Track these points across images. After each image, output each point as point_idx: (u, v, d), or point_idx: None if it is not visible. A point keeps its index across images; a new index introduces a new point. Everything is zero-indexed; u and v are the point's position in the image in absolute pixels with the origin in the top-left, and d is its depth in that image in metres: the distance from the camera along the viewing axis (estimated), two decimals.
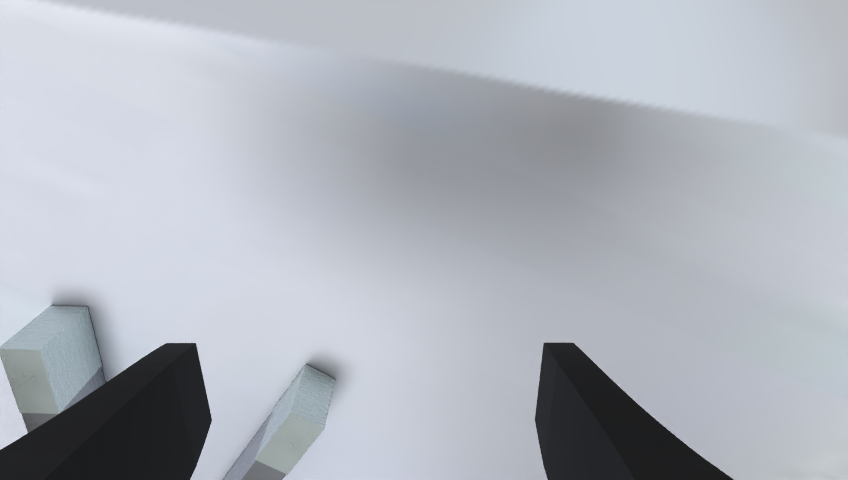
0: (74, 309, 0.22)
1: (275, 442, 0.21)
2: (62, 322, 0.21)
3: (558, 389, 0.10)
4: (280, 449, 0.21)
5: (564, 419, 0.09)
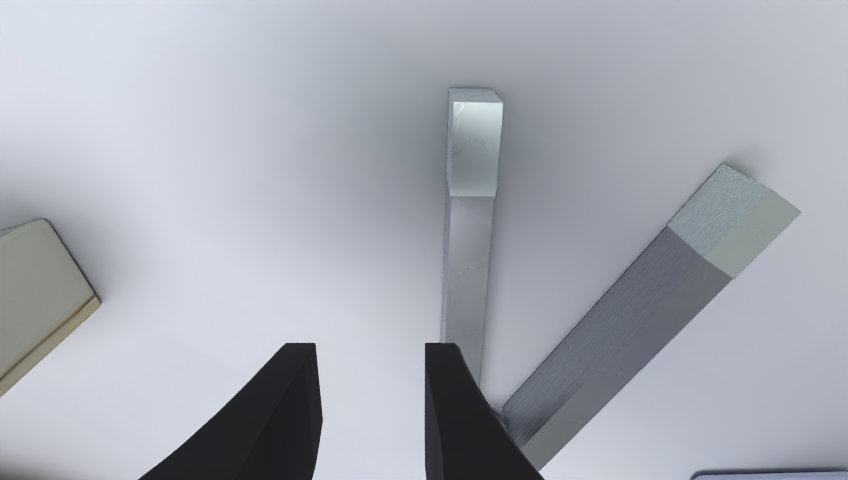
0: (481, 90, 0.18)
1: (736, 232, 0.18)
2: (487, 93, 0.18)
3: (426, 389, 0.10)
4: (739, 243, 0.18)
5: (429, 420, 0.09)
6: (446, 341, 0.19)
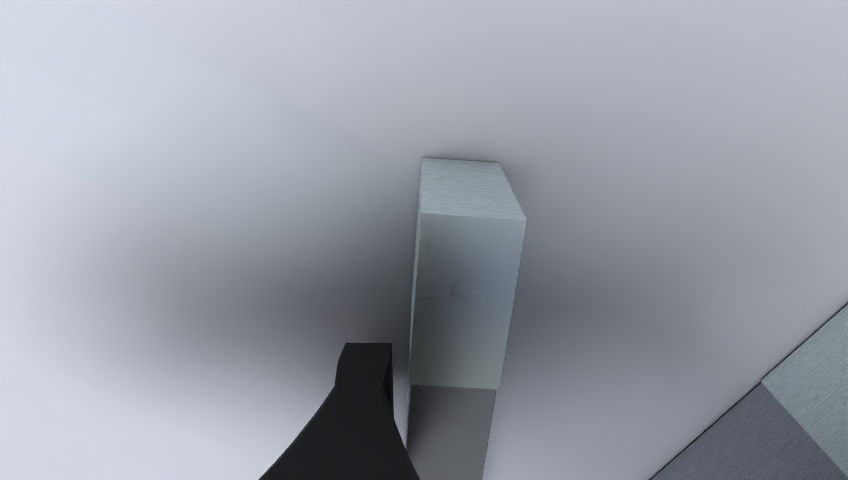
0: (480, 165, 0.10)
1: None
2: (491, 180, 0.09)
3: None
4: None
5: None
6: None
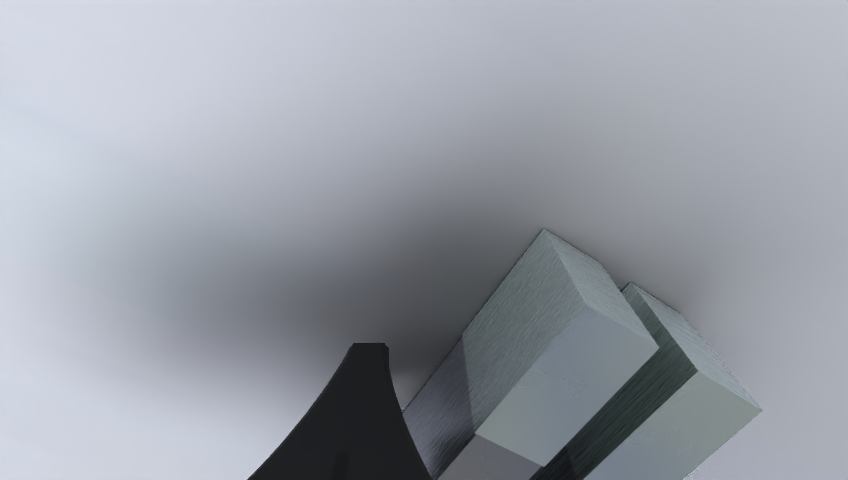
0: (589, 260, 0.11)
1: (637, 443, 0.09)
2: (608, 284, 0.10)
3: None
4: (643, 460, 0.09)
5: None
6: None
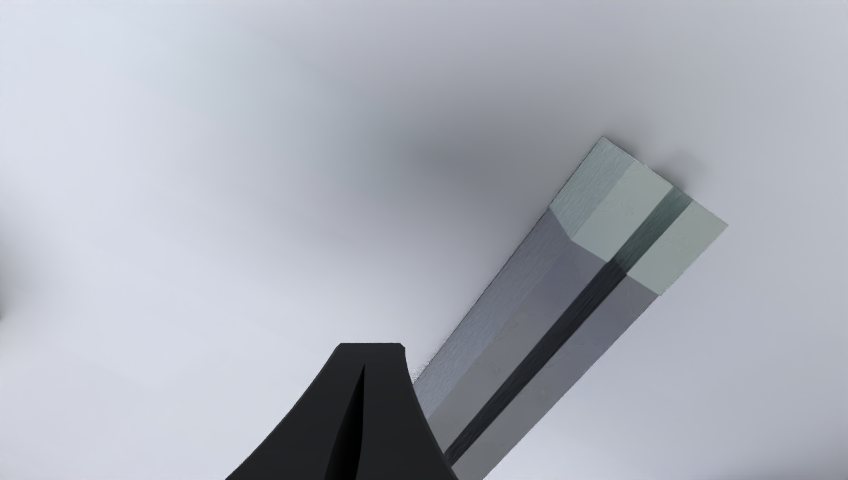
0: (629, 155, 0.18)
1: (659, 247, 0.16)
2: None
3: None
4: (663, 257, 0.17)
5: None
6: (470, 368, 0.18)
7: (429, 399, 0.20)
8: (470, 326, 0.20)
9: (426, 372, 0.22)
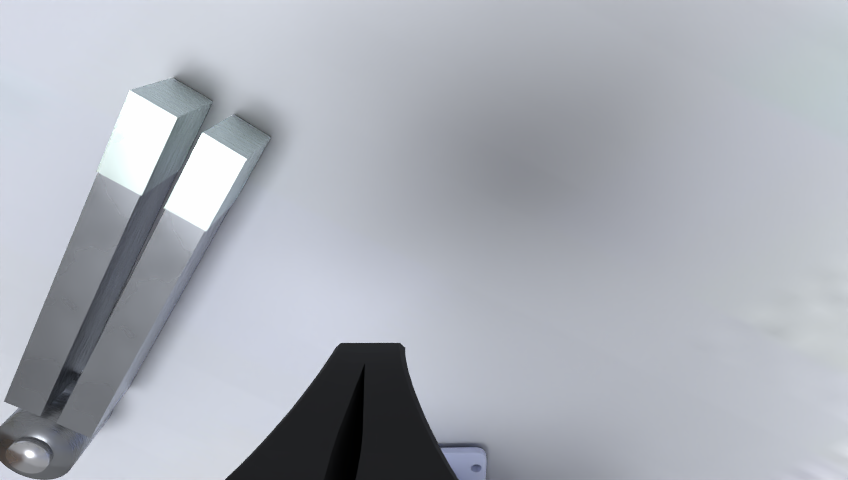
0: (199, 96, 0.18)
1: (186, 180, 0.17)
2: (191, 102, 0.18)
3: None
4: (194, 192, 0.17)
5: None
6: (45, 303, 0.19)
7: None
8: None
9: None
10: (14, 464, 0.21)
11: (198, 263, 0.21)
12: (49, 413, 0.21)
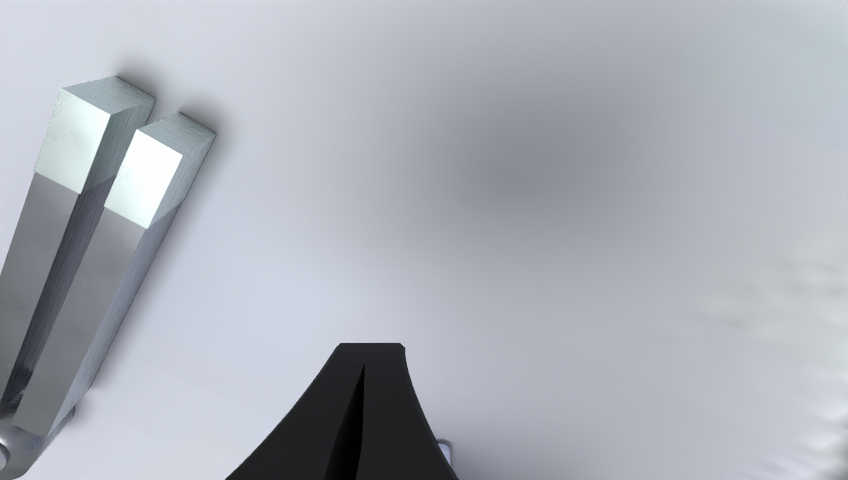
0: (141, 94, 0.18)
1: (124, 178, 0.17)
2: (130, 100, 0.18)
3: None
4: (132, 189, 0.17)
5: None
6: None
7: None
8: None
9: None
10: None
11: None
12: (4, 414, 0.21)
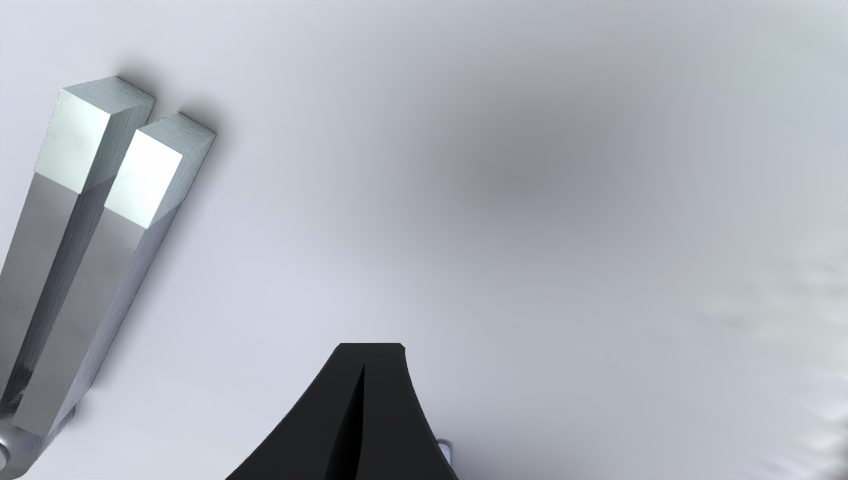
0: (141, 94, 0.18)
1: (124, 178, 0.17)
2: (130, 100, 0.18)
3: None
4: (132, 189, 0.17)
5: None
6: None
7: None
8: None
9: None
10: None
11: None
12: (4, 414, 0.21)
